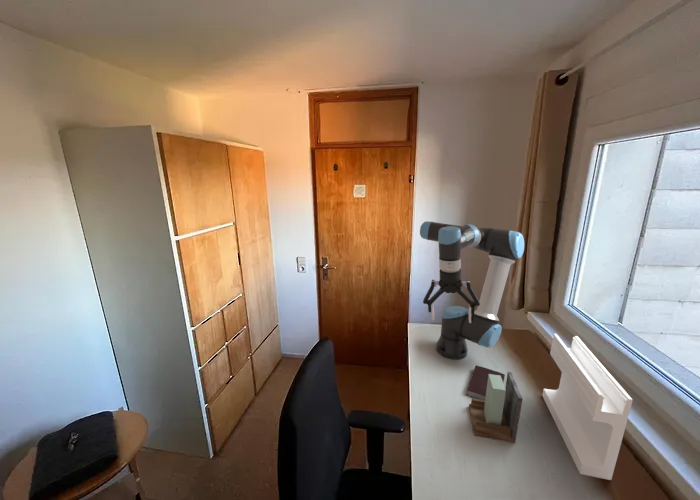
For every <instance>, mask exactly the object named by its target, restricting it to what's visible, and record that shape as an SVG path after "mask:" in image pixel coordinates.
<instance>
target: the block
mask: <svg viewBox="0 0 700 500" xmlns="http://www.w3.org/2000/svg"><path fill="white" fill-rule="evenodd" d="M549 354H550V356H551V358H552V359H553V361H554V362H555V364H556V365H557V367H558V368H559V370H560V372H561V375H560V379H559V386H558V388H557V389H550V388H543V391H542V398H543V401H544V403H545V404H546V406H547V408H548V411H549V412H550V414H551V416H552V419H553V420H554V423H555V425H556V427H557V429H558V431H559V433H560V435H561V437H562V439H563V442H564V444H565V446H566V448H567V450H568V452H569V454H570V455H571V458H572V460H573V462H574V464H575V466H576V469H577V470H578V472H579V474H580V475H584V476H588V477H593V478H598V479H603V480H608V481H612V479H613V475H614V471H615V467H616V465H617V464H616V463H617V460H618V457H619V453H620V449H621V446H622V442H623V438H624V433H625V430H626V427H627V425H628V420H629V415H630V412H631V408H632V405H633V400H634V399H633V398H632V397H631V396H630V394H629V393H627V391H626V390H625V388H624V387H623V386H621V384H620V383H619V382H618V381H617V380H616V378H615V377H614V376H613V375H612V374H611V373H610V372H609V371H608V370H607V369H606V367H605V366H604V365H603V364H602V362H601V361H600V360H599V359H598V358H597V356H595V354H594V353H593V352H592V351H591V350H590V349H589V348H588V347H587V345H586V343H584V342H583V341H582V339H581V338H580V337H579V336H578V335H575V336H573V337H572V340H571V345H570V347H567V345H566V344H565V342H564V341H563V340H562V339H561V337H560V336H559V335H558V334H557V333H553V338H552V340H551V346H550V353H549Z"/></svg>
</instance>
